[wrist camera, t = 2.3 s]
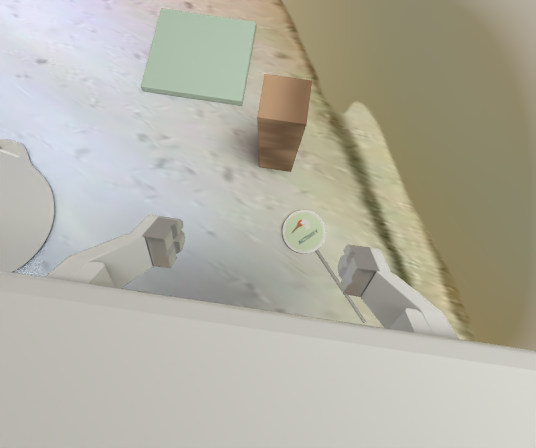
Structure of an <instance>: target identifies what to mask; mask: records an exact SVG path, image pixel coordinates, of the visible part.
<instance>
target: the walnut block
mask: <svg viewBox="0 0 536 448" xmlns="http://www.w3.org/2000/svg"><path fill="white" fill-rule="evenodd" d="M311 84H312V81H310V80H303V79H297V78H290V77H283V76H276V75H270V74H265V75H264V81H263V87H262V93H261V98H260V104H259V110H258V116H257V120H258V144H259V167H263V168H270V169H276V170H283V171H290V172H291V170H292V167H293V164H294V161H295V158H296V154H297V151H298V148H299V145H300V142H301V139H302V136H303V133H304V130H305V127H306V123H307V115H308V107H309V100H310V92H311Z"/></svg>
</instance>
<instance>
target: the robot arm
mask: <svg viewBox="0 0 536 448" xmlns="http://www.w3.org/2000/svg"><path fill="white" fill-rule="evenodd" d="M53 218H54V199H53V194H52V191H51V188H50V186H49V184H48V183H47V181H46V179H45V178H44V177H43V176H42V174H41V173H40V172H39V171H38V170H37V169H35V168H34V166H33V165H32V164H31V162H30V159H29V156H28V153H27V150H26V148H25V147H24V145H22V144H21V143H18V142H16V141H13V140H8V139H6V140H0V448H536V351H534V350H527V349H521V348H514V347H507V346H500V345H493V344H487V343H480V342H474V341H467V340H460V339H458V337H457V336H456V334H455V332H454V331H453V329H452V327H451V326H450V324H449V322H448V321H447V319H446V317H445V316H444V314H443V313H442V312H441V311H440V310H439V309H437V308H436V307H435V306H434V305H432V304H431V303H430V302H429V301H428V300H426V299H425V298H424V297H423V296H421V295H420V294H419V293H418V292H416V291H415V290H414V289H413V288H411V287H410V286H409V285H408V284H407V283H405V282H404V281H403V280H402V279H400V278H399V277H398V276H397V275H395V274H392V273H391V271H390V269H389V267H388V265H387V263H386V261H385V259H384V257H383V255H382V253H381V250H380V249H378V248H372V247H362V246H355V245H348V244H347V245H346V246H345V248H344V255H343V256H341V257H340V260H339V264H338V273H339V276H340V277H341V278H342V281H341V287H342V291H343V294H347V295H353V296H358V297H361V299H362V300H363V301H364V303H365V304H366V305H367V306H368V308H369V309H370V310H371V311H372V313H373V314H374V315H375V316H376V318H377V319H378V320H379V321H380V323H381V324H382V325H383V326H384V328H380V327H373V326H367V325H360V324H353V323H347V322H340V321H333V320H327V319H320V318H313V317H306V316H300V315H293V314H286V313H280V312H273V311H266V310H260V309H253V308H246V307H240V306H233V305H226V304H220V303H213V302H206V301H199V300H193V299H186V298H179V297H173V296H166V295H159V294H153V293H146V292H139V291H133V290H126V289H120V288H122V287H123V286H125V285H126V284H128V283H129V282H131V281H132V280H134V279H135V278H137V277H138V276H140V275H141V274H143V273H144V272H146V271H147V270H149V269H150V268H152V267H153V266H158V267H166V268H171V267H172V265H173V263H174V262H175V260H176V258H177V257H176V254H177V253H179V252H181V250H182V248H183V245H184V241H185V236H184V233H183V232H182V231H181V229H182V228H183V223H182V220H180V219H175V218H169V217H163V216H156V215H148V216H147V217H146V218H145V219H144V220H143V221H142V222H141V223H140V224H139V225H138V226H137V227H136V228H135V229H134V230H133V232H132V233H131V234H125V235H123V236H120V237H118V238H115V239H113V240H110V241H107V242H105V243H102V244H100V245H97V246H95V247H92V248H90V249H87V250H84V251H82V252H79V253H77V254H74V255H72V256H69V257H68V258H67V259H65V260H64V261H63V262H62V263H61V264H60V265H58V266H57V267H56V268H55V269H54V270H53V271H51V272H50V273H49V274H48V275H47V276H46V277H39V276H32V275H25V274H19V273H12V272H13V271H15V270H17V269H18V268H20V267H21V266H23V265H24V264H25V263H27V262H28V261H29V260H30V259H31V258H32V257H33V256H34V255H35V254H36V253H37V252H38V251H39V249H40V248H41V247H42V245H43V244H44V242H45V240H46V238H47V236H48V234H49V232H50V229H51V227H52V223H53Z"/></svg>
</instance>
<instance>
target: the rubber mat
mask: <svg viewBox="0 0 536 448" xmlns="http://www.w3.org/2000/svg"><path fill="white" fill-rule="evenodd" d="M255 32H256V22H251V21H244V20H238V19H231V18H224V17H217V16H210V15H203V14H197V13H190V12H183V11H176V10H169V9H163V8H161V11H160V15H159V19H158V23H157V26H156V30H155V34H154V38H153V42H152V46H151V49H150V53H149V57H148V61H147V65H146V69H145V72H144V76H143V80H142V84H141V88H142V89H143V90H144V91H146V92H153V93H160V94H166V95H173V96H180V97H187V98H194V99H200V100H207V101H214V102H221V103H228V104H234V105H241V106H242V104H243V98H244V93H245V87H246V82H247V76H248V71H249V65H250V60H251V54H252V49H253V43H254V38H255Z"/></svg>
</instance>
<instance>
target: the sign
mask: <svg viewBox="0 0 536 448" xmlns="http://www.w3.org/2000/svg"><path fill="white" fill-rule="evenodd" d="M282 235H283V239H284V241H285V243H286V245H287V246H288V247H289V248H290V249H292V250H293V251H295V252H298V253H303V254H306V253H311V252H314V251H315V252H316V253H317V255H318V256H319V258H320V259H321V261H322V262H323V264H324V265H325V267H326V268H327V270H328V271H329V273H330V274H331V276H332V277H333V279H334V280H335V282H336V283H337V285H338V286H339V288H340V289H341V291H342V287H341V284H340V282H339V281H338V279H337V278H336V276H335V275H334V273H333V272H332V270H331V269H330V267H329V266H328V264H327V263H326V261H325V260H324V258H323V257H322V255H321V254H320V252H319V251H318V249H319V248H320V247H321V246H322V244H323V243H324V241H325V238H326V227H325V224H324V222H323V220H322V219H321V217H320V216H319V215H317V214H316V213H314V212H312V211H309V210H299V211H296V212H294V213H292V214H291V215H289V216H288V218H287V219H286V220H285V222H284V224H283V228H282ZM342 292H343V291H342ZM344 295H345V296H346V298H347V299H348V301H349V302H350V304H351V305H352V307H353V308H354V310H355V311H356V313H357V314H358V316H359V317H360V319H361V320H362V322H363V323H365V322H366V321H365V320H364V318H363V317H362V315H361V314H360V312H359V311H358V309H357V308H356V306H355V305H354V303H353V302H352V300H351V299H350V297H349V296H348V295H347V294H344Z"/></svg>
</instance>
